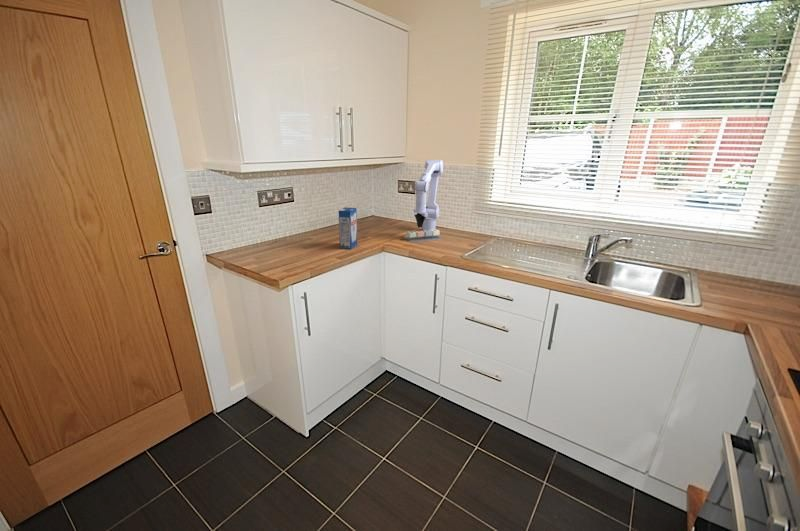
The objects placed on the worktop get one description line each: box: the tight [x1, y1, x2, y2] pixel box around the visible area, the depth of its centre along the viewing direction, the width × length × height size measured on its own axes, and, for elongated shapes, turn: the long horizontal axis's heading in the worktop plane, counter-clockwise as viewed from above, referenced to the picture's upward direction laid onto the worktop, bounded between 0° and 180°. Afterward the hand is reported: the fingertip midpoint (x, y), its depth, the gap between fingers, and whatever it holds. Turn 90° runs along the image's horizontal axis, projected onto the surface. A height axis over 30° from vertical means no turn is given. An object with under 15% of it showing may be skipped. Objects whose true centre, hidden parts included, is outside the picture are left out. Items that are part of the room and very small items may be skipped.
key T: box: [414, 230, 424, 237], centre depth 196 cm, size 4×4×2 cm
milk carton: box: [338, 207, 358, 250], centre depth 180 cm, size 10×6×20 cm, turn 168°
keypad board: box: [403, 235, 444, 243], centre depth 198 cm, size 12×20×1 cm, turn 113°
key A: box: [430, 228, 441, 236], centre depth 200 cm, size 4×4×2 cm
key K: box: [422, 230, 432, 236], centre depth 198 cm, size 4×4×2 cm
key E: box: [406, 230, 416, 237], centre depth 194 cm, size 4×4×2 cm
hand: (419, 227), depth 195 cm, fingers closed
